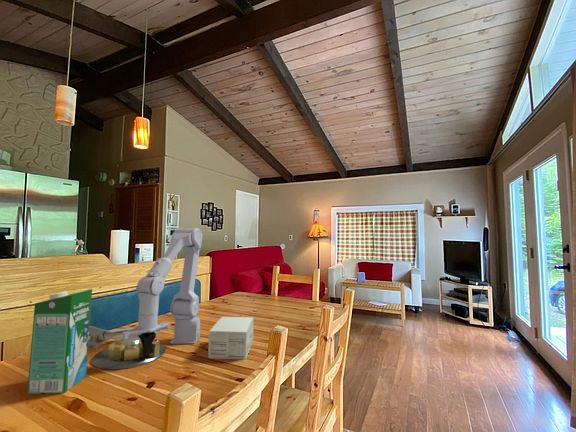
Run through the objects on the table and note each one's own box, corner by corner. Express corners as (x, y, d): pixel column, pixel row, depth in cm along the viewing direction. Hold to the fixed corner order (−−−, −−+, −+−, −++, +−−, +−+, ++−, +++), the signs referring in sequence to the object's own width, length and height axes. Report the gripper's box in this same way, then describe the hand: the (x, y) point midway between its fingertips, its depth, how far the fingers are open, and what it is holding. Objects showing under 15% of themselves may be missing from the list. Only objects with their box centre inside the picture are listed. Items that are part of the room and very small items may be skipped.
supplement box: (220, 340, 111) (221, 316, 111) (253, 341, 110) (254, 317, 111) (207, 358, 94) (208, 330, 94) (246, 360, 93) (246, 331, 94)
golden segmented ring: (129, 343, 103) (130, 331, 104) (169, 348, 99) (169, 336, 100) (98, 357, 91) (99, 344, 91) (142, 364, 87) (143, 350, 87)
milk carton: (53, 376, 80) (60, 288, 82) (86, 375, 81) (92, 288, 83) (26, 394, 71) (35, 294, 73) (64, 393, 72) (71, 294, 74)
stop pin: (158, 354, 96) (159, 339, 97) (156, 355, 95) (157, 340, 95) (153, 354, 96) (154, 339, 97) (151, 356, 95) (152, 340, 95)
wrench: (159, 339, 118) (75, 352, 95) (157, 338, 119) (73, 351, 96) (162, 319, 120) (80, 328, 96) (160, 318, 121) (78, 327, 97)
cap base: (173, 342, 107) (174, 328, 108) (150, 369, 85) (151, 352, 86) (114, 342, 106) (115, 329, 106) (74, 370, 84) (75, 353, 84)
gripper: (129, 320, 84) (126, 367, 83) (175, 311, 95) (173, 352, 94) (121, 315, 89) (117, 360, 87) (165, 308, 100) (163, 347, 98)
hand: (145, 356), depth 91 cm, fingers closed
